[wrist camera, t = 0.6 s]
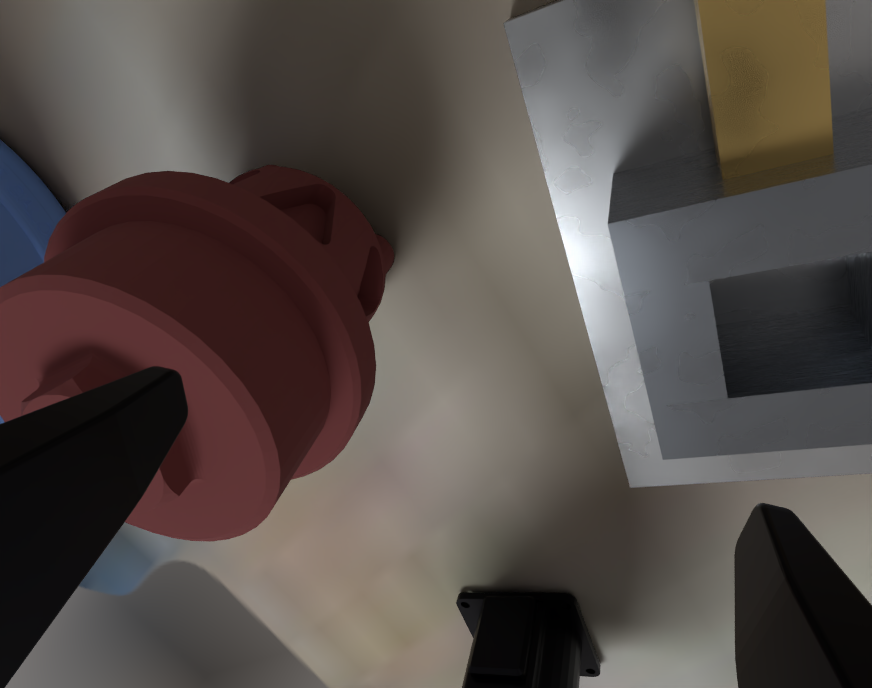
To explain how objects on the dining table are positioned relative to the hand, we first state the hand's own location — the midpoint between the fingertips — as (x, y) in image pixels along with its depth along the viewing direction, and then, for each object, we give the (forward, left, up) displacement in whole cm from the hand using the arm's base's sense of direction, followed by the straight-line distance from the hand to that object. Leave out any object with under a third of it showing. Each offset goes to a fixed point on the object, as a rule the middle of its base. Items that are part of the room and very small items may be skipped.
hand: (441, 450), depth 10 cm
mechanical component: (0, +9, -14) cm, 17 cm away
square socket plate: (-4, -6, -14) cm, 15 cm away
